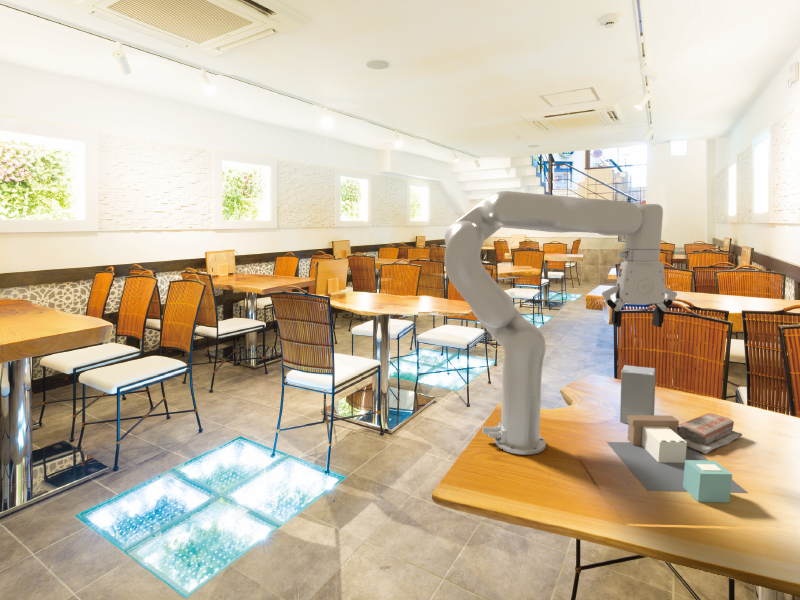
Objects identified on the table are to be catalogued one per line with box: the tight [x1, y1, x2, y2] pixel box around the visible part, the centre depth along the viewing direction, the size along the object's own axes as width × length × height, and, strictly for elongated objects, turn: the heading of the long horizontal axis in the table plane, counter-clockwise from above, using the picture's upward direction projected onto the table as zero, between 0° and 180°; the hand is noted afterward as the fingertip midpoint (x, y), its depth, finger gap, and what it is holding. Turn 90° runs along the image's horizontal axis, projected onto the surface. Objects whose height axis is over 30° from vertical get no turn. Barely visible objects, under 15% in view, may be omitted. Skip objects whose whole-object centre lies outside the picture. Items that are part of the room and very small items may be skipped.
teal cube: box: [683, 459, 733, 503], centre depth 93 cm, size 6×5×6 cm
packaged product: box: [676, 412, 743, 455], centre depth 118 cm, size 18×5×10 cm
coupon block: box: [627, 414, 687, 463], centre depth 112 cm, size 11×12×7 cm
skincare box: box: [619, 364, 657, 425], centre depth 128 cm, size 8×7×16 cm
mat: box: [606, 441, 748, 494], centre depth 105 cm, size 20×22×1 cm
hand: (636, 326), depth 113 cm, fingers open, 9 cm apart
